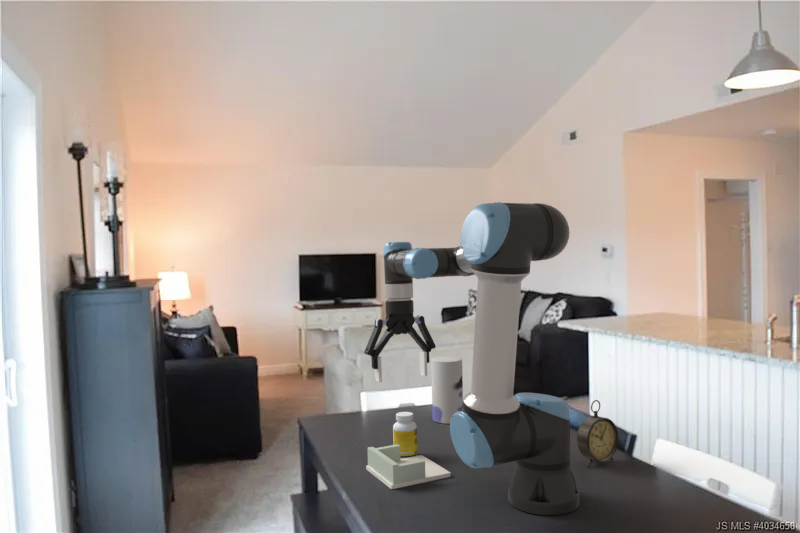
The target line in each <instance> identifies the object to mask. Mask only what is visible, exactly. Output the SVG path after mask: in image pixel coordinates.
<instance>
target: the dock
mask: <svg viewBox="0 0 800 533" xmlns="http://www.w3.org/2000/svg"><path fill="white" fill-rule="evenodd" d="M365 469H366V471H367V472H368V473H370V474H371V475H372V476H374V477H375V478H376V479H378V481H380V482H382V483H383V484H384V485H385V486H387V487H388V488H389V489H390V490H395V489H399V488H405V487H408V486H409V487H410V486H413V485H418V484H423V483H428V482H433V481H437V480H442V479H447V478H451V475H452V473H451V472H450V471H449V470H447V469H445V468H444V467H442V466H441V465H439V464H437V463H436V462H434V461H432V460H431V459H429V458H427V457H426V456H424V455H422V454H420V455H417V456H413V457H408V458H403V459H400V445H398V444H396V445H393V444H390V445H387V446H386V445H385V446H380V447H374V446H368V447H367V465H365Z"/></svg>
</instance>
